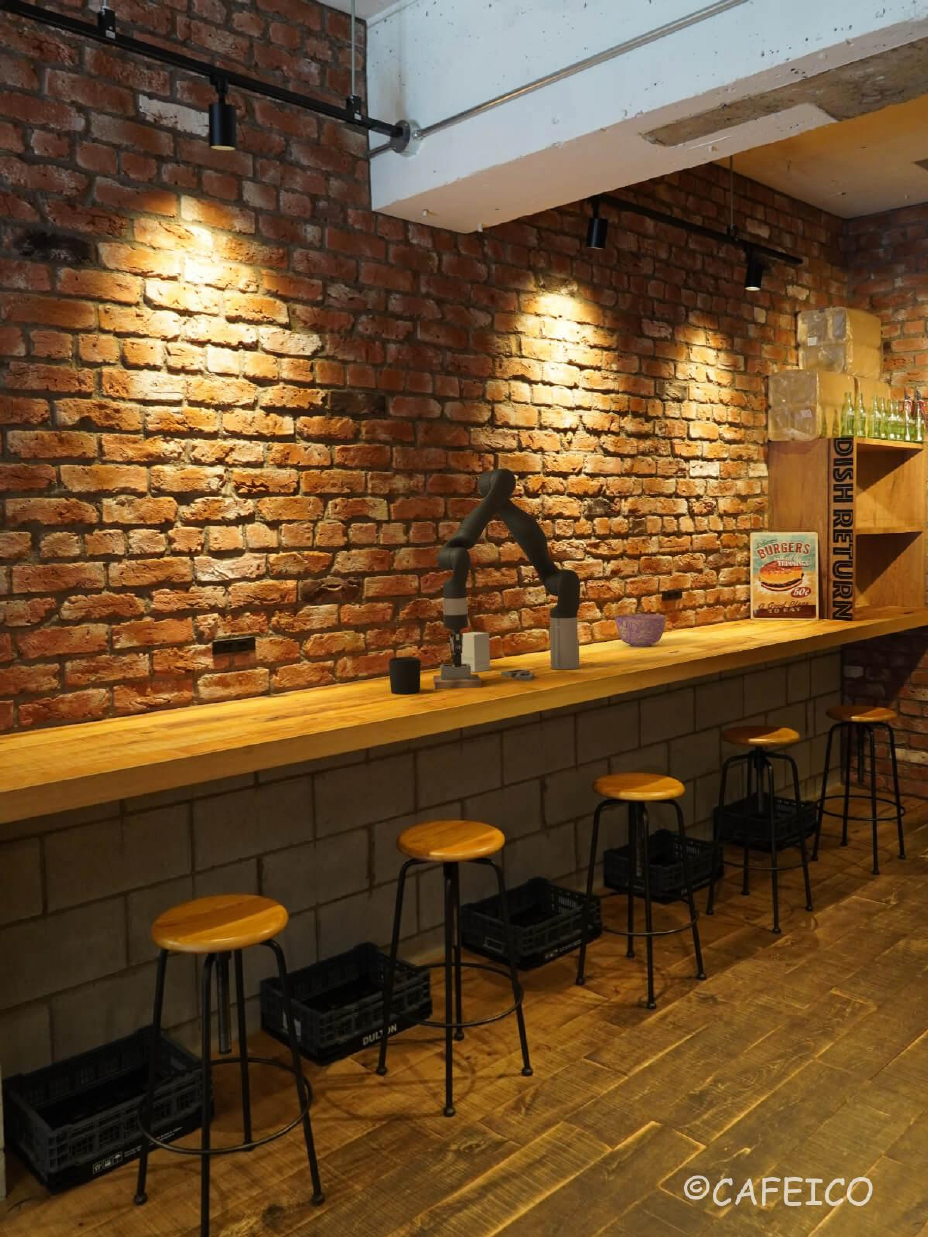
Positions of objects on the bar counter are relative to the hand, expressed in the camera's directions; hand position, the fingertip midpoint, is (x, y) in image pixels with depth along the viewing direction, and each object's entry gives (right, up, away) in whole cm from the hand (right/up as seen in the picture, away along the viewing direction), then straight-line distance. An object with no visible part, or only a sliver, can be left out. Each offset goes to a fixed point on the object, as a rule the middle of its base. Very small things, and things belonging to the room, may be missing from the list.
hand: (457, 665), depth 321 cm
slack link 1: (+19, -4, +18) cm, 26 cm away
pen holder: (-15, -8, -11) cm, 21 cm away
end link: (0, -4, 0) cm, 4 cm away
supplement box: (+6, -3, +31) cm, 32 cm away
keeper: (0, -6, +1) cm, 6 cm away
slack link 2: (+21, -5, +10) cm, 24 cm away
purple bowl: (+71, +3, +87) cm, 113 cm away
